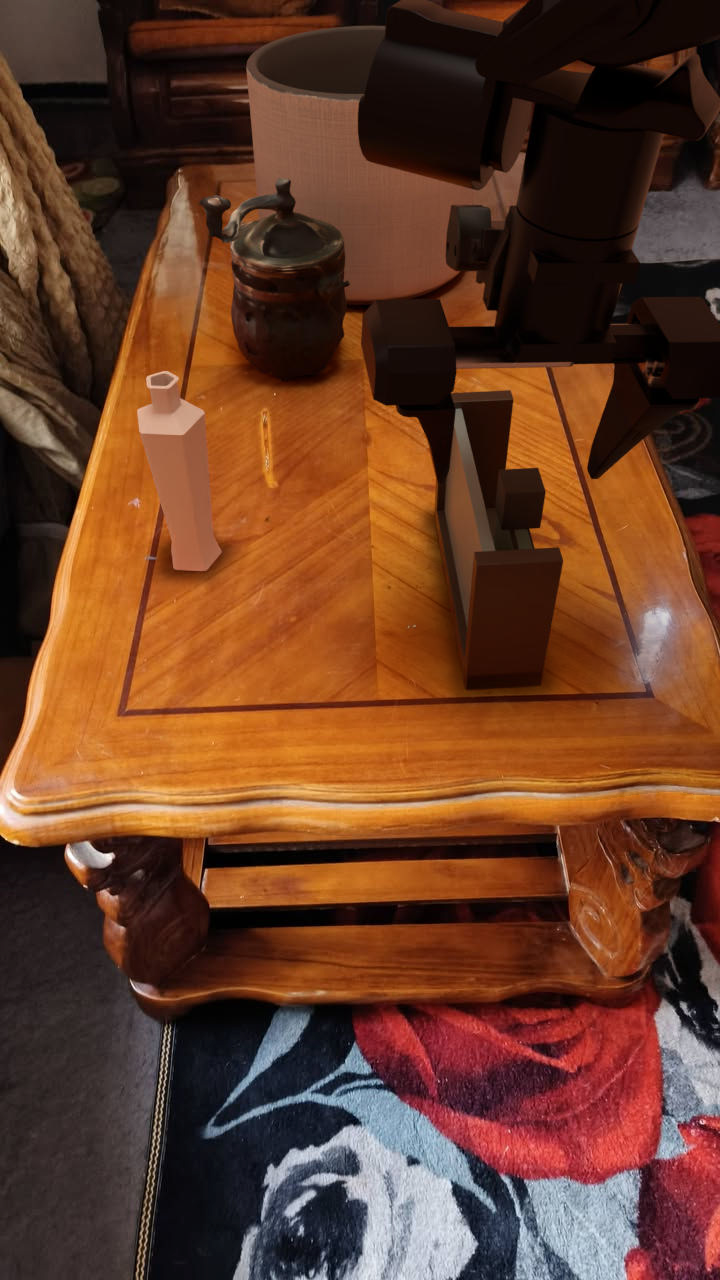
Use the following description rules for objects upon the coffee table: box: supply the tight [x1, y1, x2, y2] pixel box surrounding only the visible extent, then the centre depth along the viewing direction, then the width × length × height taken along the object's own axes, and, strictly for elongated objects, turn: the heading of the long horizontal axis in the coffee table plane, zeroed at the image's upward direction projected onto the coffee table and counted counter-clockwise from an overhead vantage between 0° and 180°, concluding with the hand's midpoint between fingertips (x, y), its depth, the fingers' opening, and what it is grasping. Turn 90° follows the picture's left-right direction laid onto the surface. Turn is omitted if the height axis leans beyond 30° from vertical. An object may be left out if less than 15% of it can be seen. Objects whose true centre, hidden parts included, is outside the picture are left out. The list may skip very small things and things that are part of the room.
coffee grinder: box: [198, 178, 350, 382], centre depth 84 cm, size 13×15×18 cm
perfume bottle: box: [136, 370, 223, 572], centre depth 67 cm, size 5×4×15 cm
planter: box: [246, 25, 474, 306], centre depth 98 cm, size 23×23×20 cm
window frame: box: [433, 389, 564, 691], centre depth 65 cm, size 5×18×11 cm, turn 3°
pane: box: [494, 467, 546, 551], centre depth 61 cm, size 2×7×11 cm, turn 3°
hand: (516, 477), depth 56 cm, fingers open, 9 cm apart
